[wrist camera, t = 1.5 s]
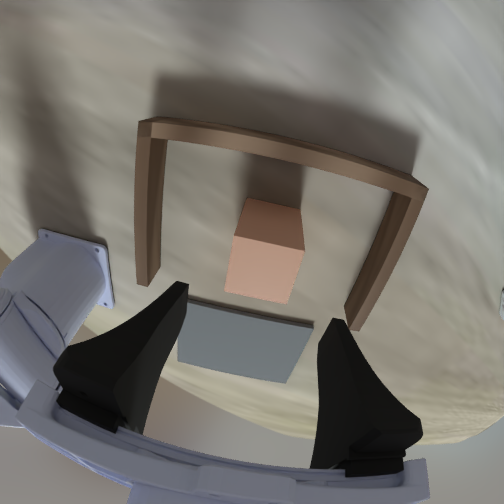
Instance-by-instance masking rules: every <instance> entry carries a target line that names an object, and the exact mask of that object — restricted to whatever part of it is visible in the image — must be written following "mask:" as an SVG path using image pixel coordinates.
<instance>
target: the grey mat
mask: <svg viewBox="0 0 504 504" xmlns="http://www.w3.org/2000/svg"><path fill="white" fill-rule="evenodd" d="M313 329H314V327H313V325H309V324H303V323H298V322H292V321H287V320H282V319H277V318H271V317H266V316H262V315H257V314H252V313H247V312H242V311H238V310H233V309H229V308H224V307H220V306H216V305H211V304H207V303H203V302H199V301H194V300H190V299H188V301H187V314H186V317H185V320H184V323H183V326H182V328H181V331H180V333H179V335H178V361H179V362H183V363H187V364H191V365H195V366H199V367H203V368H207V369H211V370H216V371H220V372H225V373H229V374H234V375H239V376H244V377H249V378H255V379H260V380H266V381H272V382H278V383H285V384H286V382H287V380H288V378H289V376H290V374H291V372H292V371H293V369H294V367H295V365H296V363H297V361H298V359H299V357H300V355H301V353H302V351H303V349H304V347H305V345H306V344H307V342H308V339H309V337H310V335H311V333H312V331H313Z"/></svg>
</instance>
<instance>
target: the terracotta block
mask: <svg viewBox="0 0 504 504" xmlns="http://www.w3.org/2000/svg"><path fill="white" fill-rule="evenodd" d="M304 253H305V246H304V237H303V228H302V219H301V211H300V209H295V208H291V207H287V206H283V205H278V204H274V203H269V202H265V201H260V200H256V199H251V198H247V199H246V202H245V205H244V208H243V211H242V213H241V216H240V219H239V222H238V225H237V228H236V231H235V234H234V238H233V243H232V249H231V254H230V260H229V266H228V271H227V277H226V283H225V289H224V291H226V292H230V293H235V294H239V295H244V296H249V297H253V298H258V299H263V300H268V301H272V302H277V303H282V304H287V302H288V299H289V297H290V294H291V291H292V288H293V285H294V282H295V279H296V277H297V274H298V271H299V268H300V265H301V262H302V259H303V256H304Z"/></svg>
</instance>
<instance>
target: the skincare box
mask: <svg viewBox="0 0 504 504" xmlns="http://www.w3.org/2000/svg"><path fill="white" fill-rule="evenodd" d="M499 314H500V316H501V317H502V319H503V320H504V290H503V291H502V297H501V305H500V311H499Z"/></svg>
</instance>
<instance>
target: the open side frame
mask: <svg viewBox="0 0 504 504" xmlns="http://www.w3.org/2000/svg"><path fill="white" fill-rule="evenodd" d="M167 140H175V141H182V142H189V143H196V144H203V145H209V146H215V147H221V148H226V149H232V150H237V151H242V152H247V153H252V154H257V155H262V156H267V157H271V158H276V159H280V160H285V161H289V162H293V163H297V164H301V165H305V166H309V167H313V168H317V169H321V170H324V171H328V172H332V173H335V174H339V175H342V176H346V177H349V178H353V179H356V180H359V181H362V182H366V183H369V184H372V185H375V186H378V187H381V188H384V189H387V190H390V191H393V195H392V198H391V201H390V203H389V206H388V208H387V211H386V214H385V216H384V219H383V221H382V224H381V226H380V229H379V231H378V234H377V236H376V238H375V241H374V243H373V245H372V248H371V250H370V252H369V255H368V257H367V259H366V261H365V264H364V266H363V268H362V270H361V272H360V274H359V277H358V279H357V281H356V283H355V285H354V287H353V289H352V291H351V293H350V295H349V297H348V299H347V301H346V303H345V305H344V309H345V314H346V319H347V324H348V328H349V330H353V331H360V329H361V327H362V326H363V324H364V322H365V321H366V319H367V317H368V316H369V314H370V312H371V310H372V309H373V307H374V305H375V303H376V301H377V300H378V298H379V296H380V294H381V292H382V291H383V289H384V287H385V285H386V283H387V281H388V279H389V277H390V275H391V273H392V271H393V269H394V267H395V265H396V263H397V261H398V259H399V257H400V255H401V253H402V251H403V249H404V247H405V245H406V242H407V240H408V238H409V236H410V234H411V231H412V229H413V227H414V224H415V222H416V220H417V217H418V215H419V213H420V210H421V208H422V205H423V203H424V200H425V198H426V195H427V192H428V190H429V189H428V188H427V187H426V186H425V185H423V184H422V183H421V182H419V181H418V180H417V179H415V178H414V177H413V176H411V175H409V174H406V173H403V172H401V171H398V170H395V169H393V168H390V167H387V166H384V165H381V164H378V163H375V162H372V161H369V160H366V159H363V158H360V157H357V156H354V155H351V154H347V153H344V152H341V151H337V150H334V149H330V148H327V147H323V146H320V145H316V144H312V143H308V142H304V141H300V140H296V139H292V138H288V137H283V136H279V135H275V134H270V133H265V132H260V131H255V130H250V129H245V128H239V127H234V126H228V125H222V124H215V123H209V122H202V121H194V120H186V119H177V118H168V117H153V118H149V119H145V120H141V121H139V122H138V133H137V146H136V163H135V190H134V233H135V261H136V277H137V284H138V285H142V286H146V287H148V286H149V284H150V283H151V281H152V279H153V278H154V276H155V275H156V273H157V271H158V270H159V268H160V255H161V219H162V199H163V184H164V171H165V159H166V149H167Z"/></svg>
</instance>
